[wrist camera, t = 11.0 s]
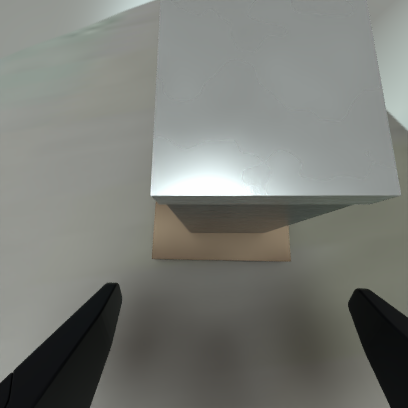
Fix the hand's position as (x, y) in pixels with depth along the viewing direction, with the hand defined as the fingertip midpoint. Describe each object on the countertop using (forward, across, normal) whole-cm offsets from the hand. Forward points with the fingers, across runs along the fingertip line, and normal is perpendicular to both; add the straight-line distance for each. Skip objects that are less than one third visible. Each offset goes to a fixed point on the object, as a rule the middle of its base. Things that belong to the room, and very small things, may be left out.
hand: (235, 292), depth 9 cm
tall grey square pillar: (+10, 0, +1) cm, 10 cm away
